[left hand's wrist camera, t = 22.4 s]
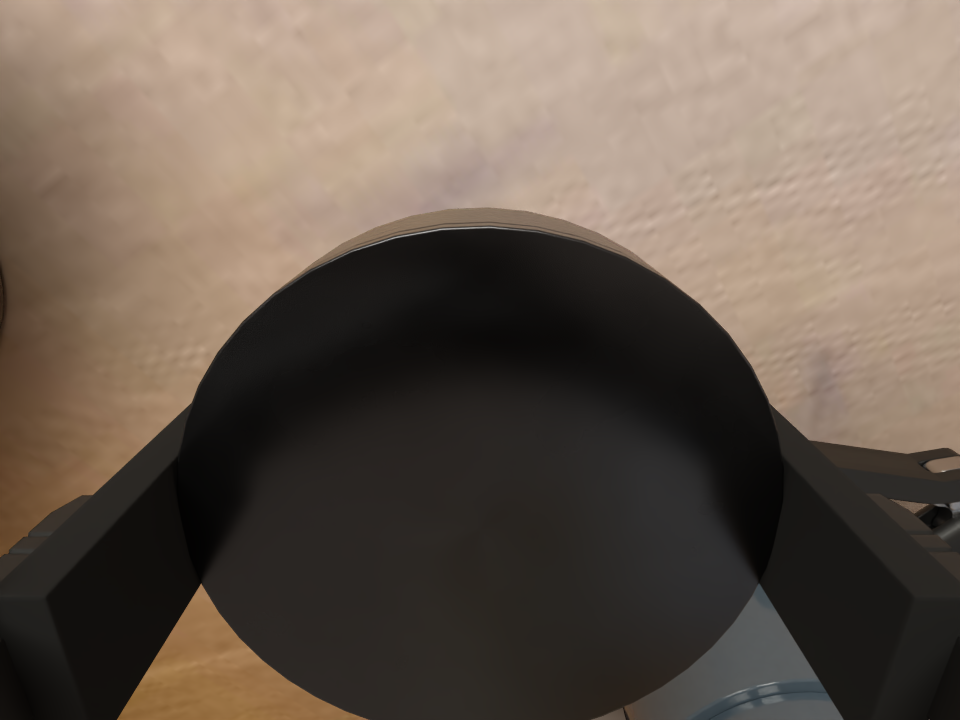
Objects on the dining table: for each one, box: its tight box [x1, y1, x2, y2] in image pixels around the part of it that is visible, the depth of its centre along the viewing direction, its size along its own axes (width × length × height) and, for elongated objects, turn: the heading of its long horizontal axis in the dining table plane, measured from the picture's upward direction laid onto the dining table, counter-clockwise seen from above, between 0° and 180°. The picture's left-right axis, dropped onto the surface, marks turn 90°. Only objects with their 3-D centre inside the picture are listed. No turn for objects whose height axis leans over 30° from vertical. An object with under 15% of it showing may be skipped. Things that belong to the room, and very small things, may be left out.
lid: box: [177, 208, 784, 720], centre depth 11 cm, size 11×11×2 cm
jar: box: [623, 584, 844, 720], centre depth 28 cm, size 10×10×17 cm
